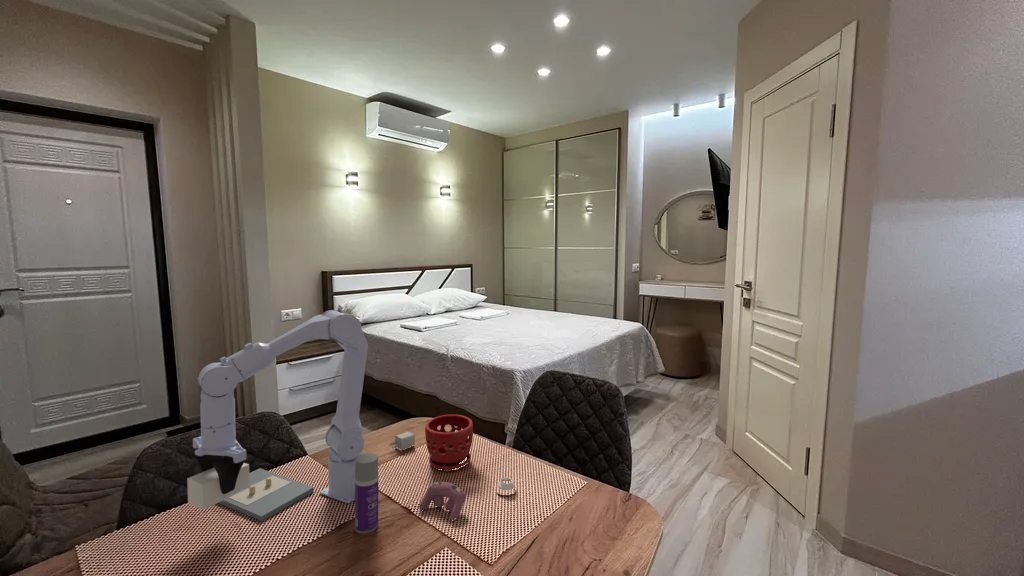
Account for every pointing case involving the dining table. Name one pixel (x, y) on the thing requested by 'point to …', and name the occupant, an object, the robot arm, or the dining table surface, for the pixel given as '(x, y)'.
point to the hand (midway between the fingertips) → (219, 488)
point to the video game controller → (446, 490)
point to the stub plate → (267, 495)
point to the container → (366, 493)
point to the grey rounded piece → (505, 486)
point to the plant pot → (449, 441)
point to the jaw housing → (213, 487)
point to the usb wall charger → (403, 440)
